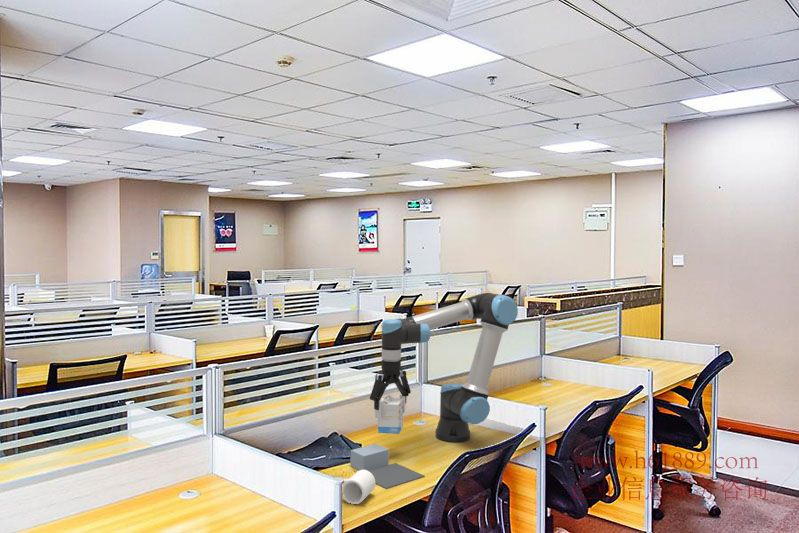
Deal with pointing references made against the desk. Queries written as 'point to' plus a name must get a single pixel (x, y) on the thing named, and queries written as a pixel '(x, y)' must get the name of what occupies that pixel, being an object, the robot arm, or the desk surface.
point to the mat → (394, 475)
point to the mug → (358, 486)
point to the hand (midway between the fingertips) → (390, 414)
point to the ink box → (391, 415)
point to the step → (369, 457)
